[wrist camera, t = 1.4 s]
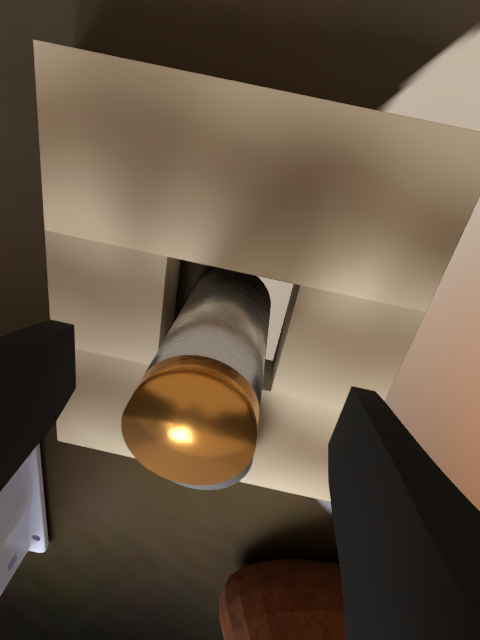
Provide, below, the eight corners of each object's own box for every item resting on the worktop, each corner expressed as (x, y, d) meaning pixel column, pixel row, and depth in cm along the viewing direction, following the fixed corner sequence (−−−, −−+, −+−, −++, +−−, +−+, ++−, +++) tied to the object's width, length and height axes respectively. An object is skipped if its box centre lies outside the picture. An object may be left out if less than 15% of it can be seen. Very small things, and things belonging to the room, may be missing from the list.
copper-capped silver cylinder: (261, 345, 15) (242, 497, 9) (187, 329, 15) (118, 469, 9) (278, 275, 14) (269, 399, 8) (197, 258, 14) (123, 367, 8)
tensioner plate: (332, 465, 18) (342, 545, 14) (80, 409, 18) (32, 475, 15) (473, 134, 11) (551, 140, 8) (72, 52, 11) (-18, 23, 8)
